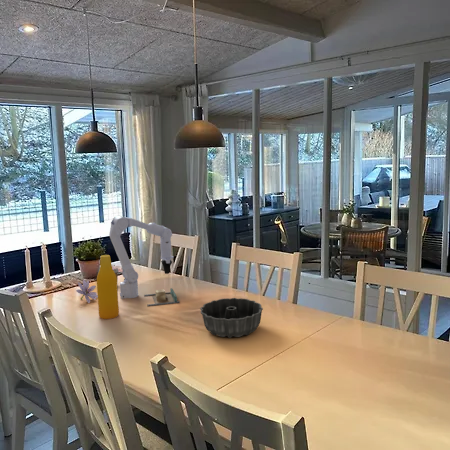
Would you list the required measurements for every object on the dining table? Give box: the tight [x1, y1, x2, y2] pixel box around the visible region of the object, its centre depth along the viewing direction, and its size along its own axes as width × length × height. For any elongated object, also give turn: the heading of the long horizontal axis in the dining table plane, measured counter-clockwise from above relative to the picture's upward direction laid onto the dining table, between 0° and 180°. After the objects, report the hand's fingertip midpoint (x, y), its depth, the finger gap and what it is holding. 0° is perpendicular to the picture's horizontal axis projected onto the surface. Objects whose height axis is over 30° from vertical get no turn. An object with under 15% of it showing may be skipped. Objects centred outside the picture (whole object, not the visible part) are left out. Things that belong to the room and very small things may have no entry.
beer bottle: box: [96, 254, 120, 320], centre depth 204 cm, size 9×9×29 cm
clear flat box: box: [151, 287, 178, 304], centre depth 227 cm, size 11×15×4 cm
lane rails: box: [143, 291, 180, 307], centre depth 227 cm, size 16×18×2 cm
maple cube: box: [155, 288, 166, 301], centre depth 226 cm, size 4×4×4 cm
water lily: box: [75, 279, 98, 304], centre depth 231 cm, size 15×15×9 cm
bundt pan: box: [199, 297, 264, 339], centre depth 186 cm, size 26×26×10 cm
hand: (166, 273), depth 241 cm, fingers closed
